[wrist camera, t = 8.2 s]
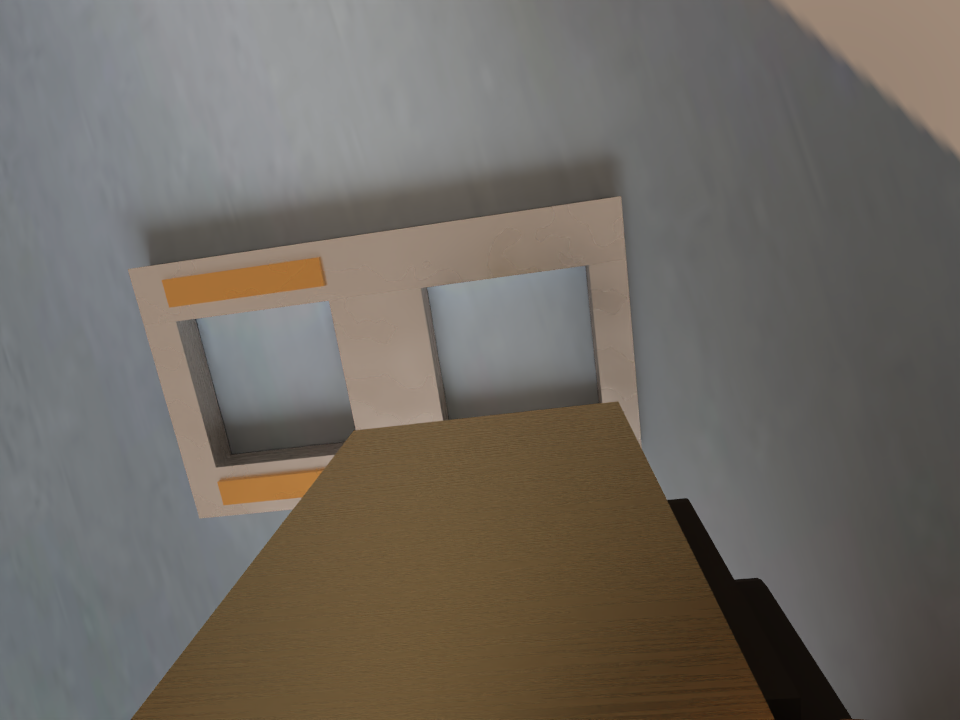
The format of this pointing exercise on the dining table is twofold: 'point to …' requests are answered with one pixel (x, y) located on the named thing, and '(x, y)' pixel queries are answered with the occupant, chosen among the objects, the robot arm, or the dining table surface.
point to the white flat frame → (369, 329)
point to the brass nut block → (472, 589)
